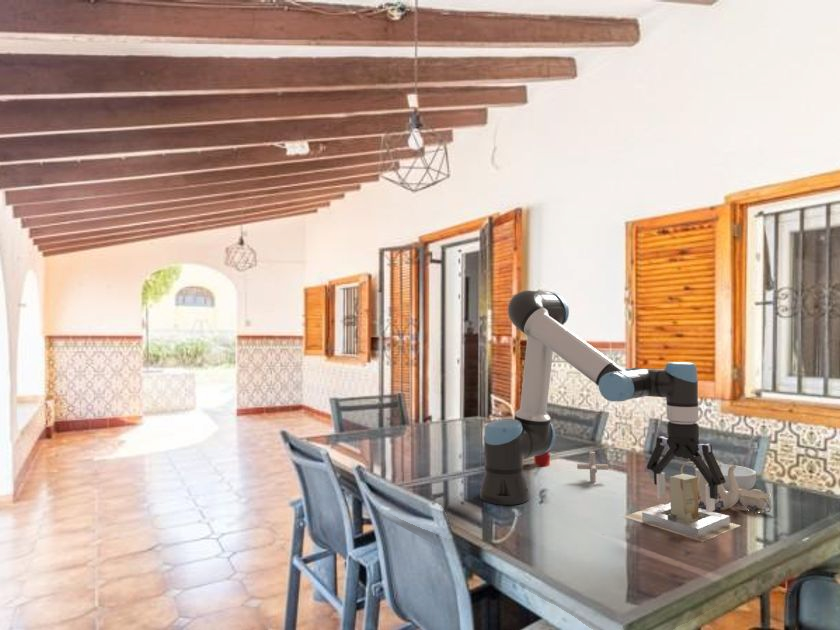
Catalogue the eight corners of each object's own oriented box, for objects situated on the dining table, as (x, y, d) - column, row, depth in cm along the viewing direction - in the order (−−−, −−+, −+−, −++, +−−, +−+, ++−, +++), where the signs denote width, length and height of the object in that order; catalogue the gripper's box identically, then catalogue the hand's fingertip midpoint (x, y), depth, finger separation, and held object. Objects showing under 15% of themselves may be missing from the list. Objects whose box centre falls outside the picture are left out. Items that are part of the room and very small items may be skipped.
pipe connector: (610, 486, 181) (609, 455, 181) (578, 485, 183) (578, 455, 183) (606, 478, 190) (605, 449, 191) (576, 477, 192) (575, 448, 193)
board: (703, 545, 131) (703, 541, 131) (623, 520, 149) (623, 516, 149) (740, 529, 141) (740, 525, 141) (661, 507, 159) (661, 503, 159)
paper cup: (556, 465, 209) (555, 428, 209) (539, 467, 206) (538, 430, 206) (544, 461, 216) (543, 425, 216) (527, 463, 213) (527, 427, 214)
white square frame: (698, 539, 132) (697, 524, 132) (642, 521, 145) (642, 508, 145) (729, 525, 141) (729, 512, 141) (674, 510, 153) (674, 497, 153)
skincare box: (686, 528, 139) (684, 480, 140) (670, 523, 143) (668, 476, 143) (700, 523, 143) (698, 476, 143) (684, 518, 146) (682, 472, 147)
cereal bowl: (747, 485, 179) (746, 464, 179) (764, 501, 163) (763, 477, 163) (690, 482, 184) (690, 461, 184) (701, 497, 168) (701, 474, 168)
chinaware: (779, 517, 154) (779, 457, 156) (762, 526, 143) (762, 461, 144) (676, 496, 174) (677, 443, 176) (654, 503, 163) (655, 446, 165)
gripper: (739, 426, 135) (741, 513, 135) (648, 414, 156) (650, 490, 155) (723, 430, 131) (726, 520, 131) (632, 417, 152) (634, 495, 151)
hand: (684, 504), depth 143 cm, fingers open, 13 cm apart
